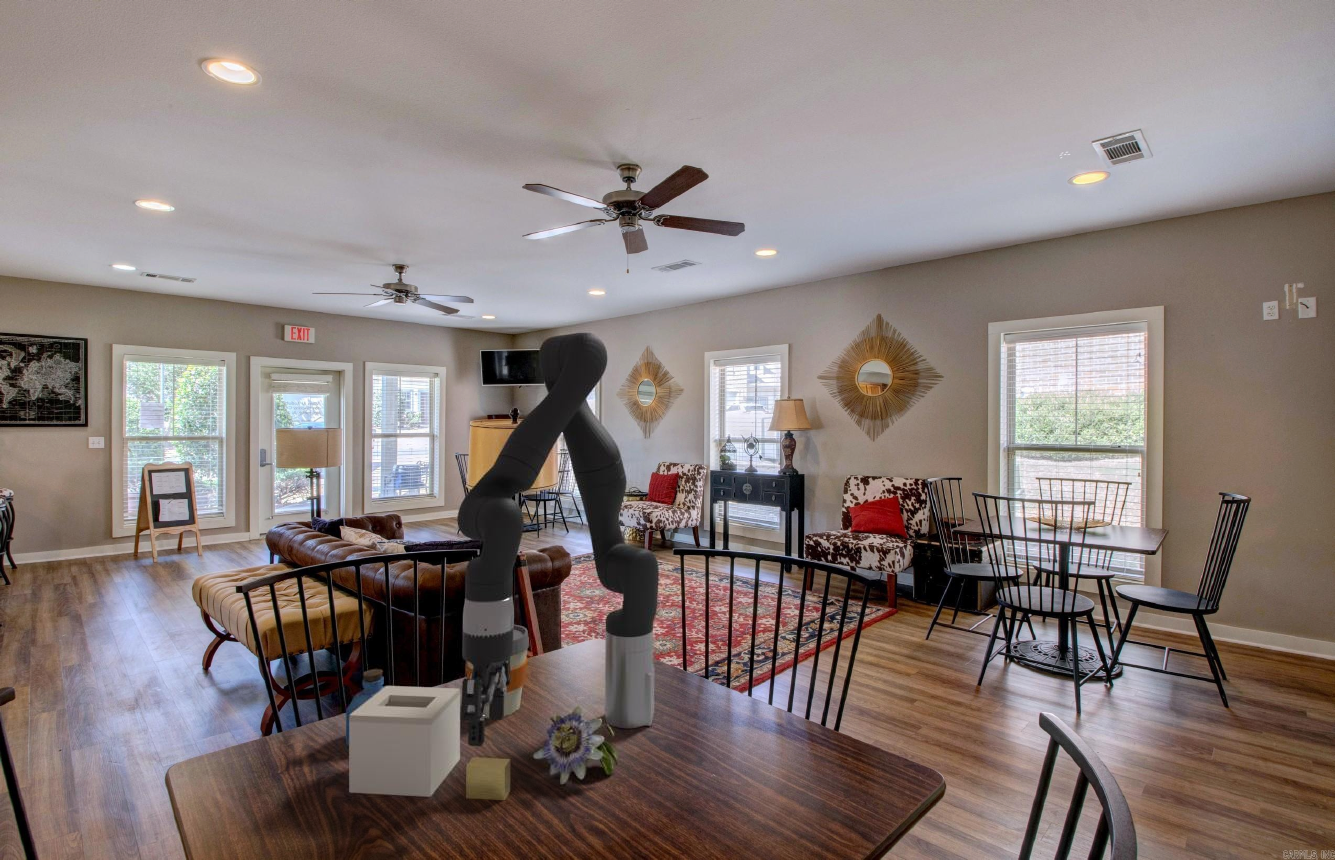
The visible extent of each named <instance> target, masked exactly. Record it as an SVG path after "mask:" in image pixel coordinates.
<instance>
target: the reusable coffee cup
mask: <svg viewBox="0 0 1335 860" xmlns="http://www.w3.org/2000/svg"><path fill="white" fill-rule="evenodd" d="M529 647H530V641H529V633H528V629H527V628H526V627H525V626H522V625H517V624H514V633H513V654H512V655H511V657H510V685H509V686H506V688H507V691H506V694H503V695H504V717H507V715H508V716H510V715H513V714H514V713H516V712H517V711H518V710H519V709H520V706H521V698H522V693H523V692H522V690H523V686H524V684H525V683H526V677H527V670H528V669H527V668H528V663H529V662H528V661H529V659H528V657H527V652H528V648H529ZM465 670H466V671H465V673H466V679H470V677H471V673H472V671H473V665H472V664H471V663H470V662H467V661H466V663H465ZM481 697H486V696H481ZM481 706H482V704H481ZM516 710H517V711H516ZM515 711H516V712H515ZM473 712H475V707H474V710H473ZM513 712H514V713H513ZM512 713H513V714H512ZM484 719H490V718H489V705H488V706H487V709H486V714H485V718H484Z"/></svg>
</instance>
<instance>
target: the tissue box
mask: <svg viewBox="0 0 1335 860" xmlns="http://www.w3.org/2000/svg"><path fill="white" fill-rule="evenodd" d="M383 687H384V688H383V689H382V690H380V691H379V692H378V693H377V694H375V695H374V696H373V697H372V698H370V699H369V700H368V701H366V702H365V703H364V704H363V705H361V706H360V707H359V708H358V709H356V710H355V711H354V712H353V713H351V714H350V715H349V745H348V747H349V748H348V753H349V755H348V757H349V759H348V760H349V762H348V764H349V765H348V769H349V770H348V773H349V774H348V783H349V788H348V791H349V793H351V794H353V793H354V794H374V795H389V796H390V795H392V796H407V797H409V796H410V797H413V796H414V797H427V798H429V797H430V798H431V797H432V796H433V795H434V793H435V792H436V790H437V789H438V788H439V787H440V785H441V784H442V783H443V782H444V780H445V779H446V778H447V777H448V776H449V774H450V773H451V771H452V770H453V768H454V767H456V765H457V763H458V762H459V761H460V760H461V688H454V687H453V688H452V687H451V688H450V687H449V688H448V687H430V686H427V687H426V686H425V687H424V686H400V685H398V686H397V685H385V686H383Z"/></svg>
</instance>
